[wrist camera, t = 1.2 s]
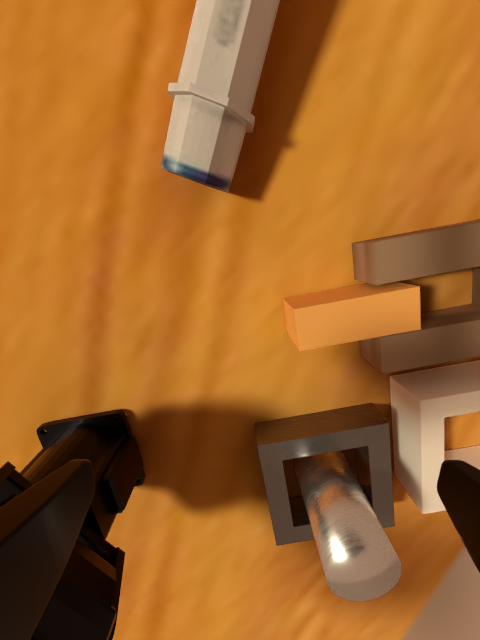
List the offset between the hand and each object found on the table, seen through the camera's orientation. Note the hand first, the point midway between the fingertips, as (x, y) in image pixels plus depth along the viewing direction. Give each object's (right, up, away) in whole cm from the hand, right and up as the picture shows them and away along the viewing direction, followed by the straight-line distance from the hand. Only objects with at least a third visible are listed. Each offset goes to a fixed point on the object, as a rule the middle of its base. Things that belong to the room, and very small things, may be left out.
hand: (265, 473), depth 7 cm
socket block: (+6, -7, +15) cm, 18 cm away
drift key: (+6, +5, +12) cm, 14 cm away
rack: (+16, -4, +15) cm, 22 cm away
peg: (+6, -7, +15) cm, 18 cm away
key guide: (+11, +6, +12) cm, 17 cm away
